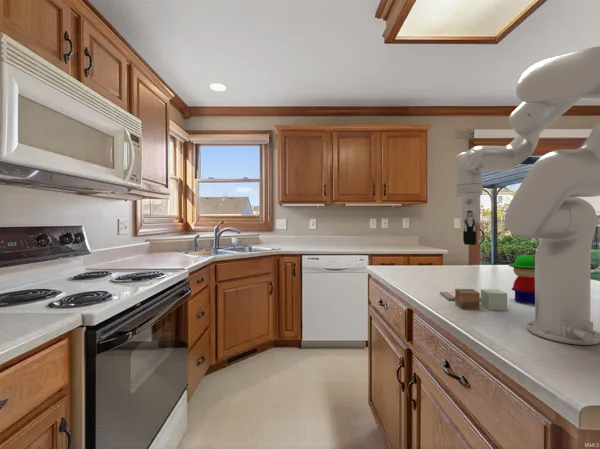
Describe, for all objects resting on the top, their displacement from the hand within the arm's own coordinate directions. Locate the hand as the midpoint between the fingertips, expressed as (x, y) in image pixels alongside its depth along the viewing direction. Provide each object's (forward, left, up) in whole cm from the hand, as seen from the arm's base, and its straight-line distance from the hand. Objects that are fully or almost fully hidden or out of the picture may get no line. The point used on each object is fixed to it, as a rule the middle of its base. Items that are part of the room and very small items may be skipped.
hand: (469, 243), depth 97 cm
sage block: (-7, -4, -19) cm, 20 cm away
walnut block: (-7, +4, -19) cm, 20 cm away
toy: (+1, -17, -19) cm, 26 cm away
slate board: (+4, +2, -19) cm, 19 cm away
